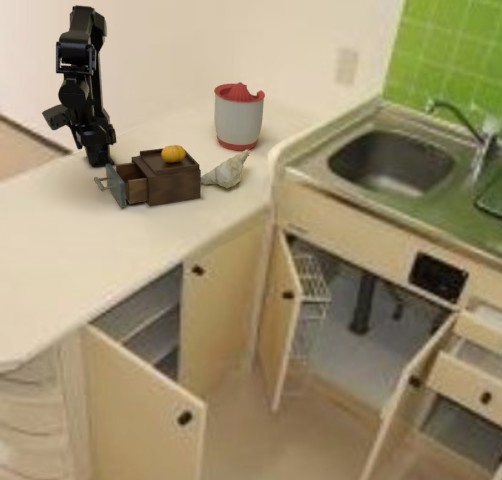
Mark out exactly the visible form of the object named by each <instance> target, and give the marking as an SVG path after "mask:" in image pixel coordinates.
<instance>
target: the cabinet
mask: <svg viewBox="0 0 502 480" xmlns="http://www.w3.org/2000/svg"><path fill="white" fill-rule="evenodd" d="M131 162H134V163H135V164H136V165H137V166H138V167H139V169H140V170H141V171H142V172H143V174H144V175H145V176H146V177H147V178H148V196H149V201H145V203H146V204H147V206H149V207H156V206H162V205H167V204H174V203H181V202H186V201H187V202H188V201H193V200H199V199H201V191H202V190H201V189H202V187H201V185H202V183H201V177H202V170H201V169H200V168H199V170H195V171H188V172H181V173H174V174H167V175H160V176H156V175H155V173H154V172H153V171H152V170H151V169H150V168H149V166H148V165H147V164H146V163H145V162H144V160H143V159H142V158H141V157H140V155H136V156H131Z"/></svg>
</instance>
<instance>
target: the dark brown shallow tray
mask: <svg viewBox="0 0 502 480" xmlns="http://www.w3.org/2000/svg"><path fill="white" fill-rule="evenodd" d="M180 146H181V147H183V146H182V145H180ZM164 148H165V147H162V148H154V149H145V150H139V156H140V157H141V158H142V159H143V160H144V162H145V163H146V164H147V165H148V166H149V168H150V169H151V170H152V171H153V172H154V173H155V175H156V176H160V175H167V174H174V173H181V172H188V171H195V170H199V169H200V164H199V162H198V161H196V160H195V158H193V156H192V155H191V154H190V153H189V152H188V151H187V150H186V149H185V148H184V150H185V158H184V159H183V160H182V161H180V162H174V163H168V162H166V161H164V160H163V158H162V155H161V153H162V150H163V149H164Z"/></svg>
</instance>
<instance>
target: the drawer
mask: <svg viewBox="0 0 502 480" xmlns="http://www.w3.org/2000/svg"><path fill="white" fill-rule="evenodd" d="M105 173H106V174H105V175H106V177H98V176H94V177H93V179H92V181H93V183H94V184H95V185H96V187H97V188H98V190H99V192H101V193H104V192H105V191H106V190H107V191H108V190H109V192H110V193H111V194H112V196H113V197H114V199H115V200H116V201H117V203H118V204H119V205H120V207H121V208H124V207H125V208H126V207H127V202H128V203H129V204H130V205H131V204H138V203H143V202H146V201H149V196H148V178H147V177H146V176H145V175H144V174H143V172H142V171H141V170H140V169H139V167H138V166H137V165H136V164H135V163H134V162H132V161H131V162H125V163H117V164H116V163H115V168H114V166H113V165H111V164H106V166H105ZM104 181H106V186H105V185H104V184H103V183H102V182H104Z"/></svg>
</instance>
